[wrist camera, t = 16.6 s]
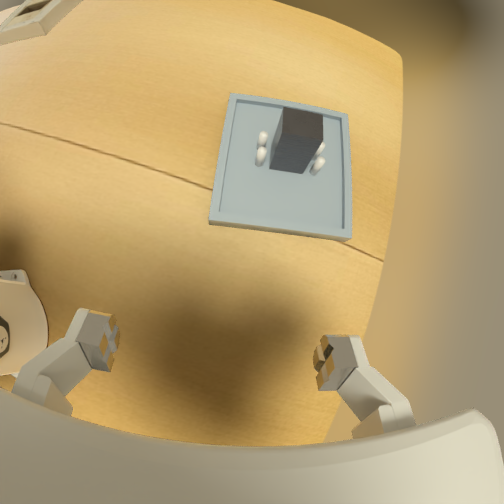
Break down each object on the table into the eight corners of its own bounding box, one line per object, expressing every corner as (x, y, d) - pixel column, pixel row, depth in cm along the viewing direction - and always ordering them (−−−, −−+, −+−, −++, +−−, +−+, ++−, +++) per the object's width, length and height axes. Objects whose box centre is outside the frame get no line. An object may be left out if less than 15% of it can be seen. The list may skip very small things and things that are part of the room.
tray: (209, 224, 40) (207, 212, 35) (229, 102, 44) (231, 81, 38) (344, 241, 41) (361, 233, 36) (342, 121, 45) (354, 104, 40)
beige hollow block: (92, -6, 50) (34, 7, 48) (87, -22, 42) (28, -5, 40) (48, 37, 46) (-5, 48, 44) (39, 20, 38) (-13, 36, 36)
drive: (268, 169, 41) (281, 132, 31) (271, 145, 41) (283, 105, 32) (302, 174, 41) (323, 140, 31) (303, 150, 42) (322, 113, 32)
